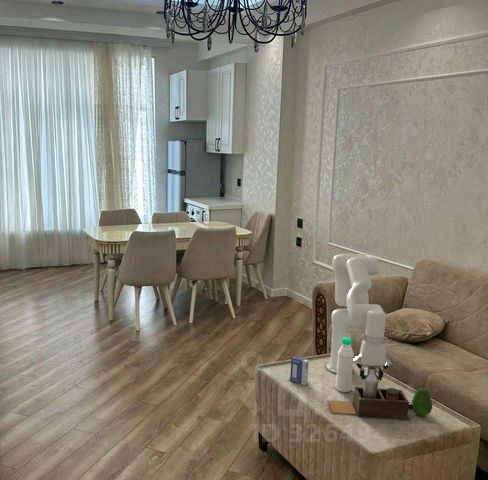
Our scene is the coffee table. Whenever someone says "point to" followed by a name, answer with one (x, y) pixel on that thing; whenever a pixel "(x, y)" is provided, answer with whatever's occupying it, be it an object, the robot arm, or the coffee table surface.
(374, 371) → the metal flask
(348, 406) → the cork mat
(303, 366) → the walkman
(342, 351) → the water bottle
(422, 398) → the fruit
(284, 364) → the coffee table surface
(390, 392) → the spice jar
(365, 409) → the brown divided box
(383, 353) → the robot arm
